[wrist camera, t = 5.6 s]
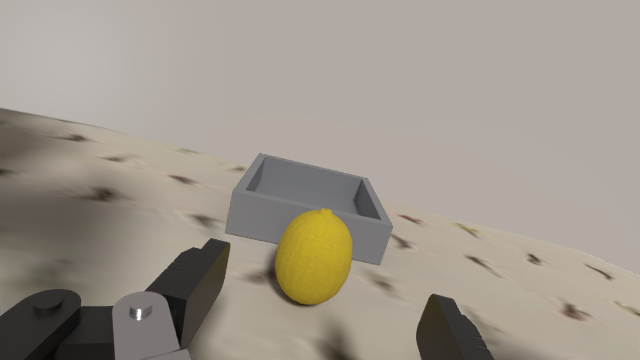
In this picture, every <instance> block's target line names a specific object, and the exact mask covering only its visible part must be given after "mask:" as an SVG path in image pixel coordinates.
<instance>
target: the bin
mask: <svg viewBox="0 0 640 360" xmlns="http://www.w3.org/2000/svg"><path fill="white" fill-rule="evenodd" d="M322 208H328V209H330V210H331V211H332V213H333V214H334V215H336V216H337V217H338V218H340V219H341V220H342V221H343V223H344V224H345V225H346V227H347V228H348V230H349V232H350V235H351V238H352V259H353V260H357V261H362V262H367V263H372V264H377V265H380V263H381V261H382V258H383V255H384V252H385V249H386V246H387V243H388V240H389V237H390V235H391V232H392V229H393V225H392V223H391V221H390V220H389V218H388V216H387V214H386V212H385V210H384V208H383V206H382V205H381V203H380V201H379V199H378V197H377V195H376V193H375V191H374V189H373V188H372V186H371V184H370V182H369V180H368V179H367V178H363V177H360V176H355V175H351V174H347V173H342V172H338V171H334V170H330V169H325V168H321V167H317V166H313V165H308V164H304V163H300V162H295V161H291V160H287V159H282V158H278V157H274V156H270V155H265V154H261V153H259V155H258V156H257V158H256V159H255V160H254V162H253V163H252V165H251V166H250V167H249V169H248V170H247V172H246V173H245V174H244V176H243V177H242V179H241V180H240V181H239V183H238V184H237V186H236V187H235V188H234V190H233V192H232V197H231V203H230V209H229V214H228V220H227V226H226V232H225V233H228V234H233V235H238V236H242V237H247V238H252V239H257V240H262V241H266V242H271V243H276V244H279V242H280V239H281V237H282V235H283V233H284V231H285V229H286V228H287V226H288V225H289V224H290V223H291V222H292V221H293V220H294V219H295V218H296V217H297V216H299V215H301V214H303V213H305V212H308V211H312V210H321V209H322Z"/></svg>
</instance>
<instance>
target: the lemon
mask: <svg viewBox="0 0 640 360" xmlns="http://www.w3.org/2000/svg"><path fill="white" fill-rule="evenodd" d="M351 261H352V238H351V235H350V232H349V230H348V228H347V227H346V225H345V224H344V223H343V221H342V220H341V219H340V218H338V217H337V216H336V215H334V214H333V213H332V211H331V210H330V209H328V208H322V209H321V210H312V211H308V212H305V213H303V214H301V215H299V216H297V217H296V218H295V219H294V220H293V221H292V222H291V223H290V224H289V225H288V226H287V228H286V229H285V231H284V233H283V235H282V237H281V239H280V242H279V245H278V248H277V252H276V257H275V271H276V277H277V280H278V283H279V285H280V286H281V288H282V290H283V291H284V292H285V293H286V294H287V295H288V296H289V297H290V298H291V299H293V300H295V301H297V302H299V303H300V304H309V305H313V304H319V303H322V302H325V301H327V300H329V299H330V298H332V297H333V296H334V295H336V294H337V293H338V291H339V290H340V289H341V287H342V286H343V284H344V282H345V281H346V279H347V276H348V274H349V271H350V267H351Z"/></svg>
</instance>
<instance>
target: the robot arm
mask: <svg viewBox="0 0 640 360" xmlns="http://www.w3.org/2000/svg"><path fill="white" fill-rule="evenodd" d="M229 252H230V243H229V242H225V241H221V240H217V239H213V238H211V239H210V240H209V241H208V242H207V243H206V244H205V245H204V246H203V248H202V249H198V248H194V247H193V248H191V249H189V250H186V251H184V252H182V253H181V254H180V255H179V256H178V257H177V258H176V259H175V260H174V262H172V263H171V264H170V265H169V266H168V268H167V269H165V270H164V271H163V272H162V273H161V275H160V276H159V277H158V278H157V279H156V280H155V281H154V282H153V283H152V284H151V285H150V286H149V287H148V288H147V289H146V290H145V291H144V292H136V293H132V294H129V295H127V296H125V297H123V298H121V299H120V300H119V301H118V302H117V303H116V304H115V305H114V306H81V298H80V296H79V295H78V294H77V293H75V292H73V291H70V290H65V289H53V290H47V291H42V292H39V293H36V294H33V295H31V296H29V297H27V298H25V299H23V300H22V301H20V302H19V303H18V304H16V305H15V306H14V307H12V308H11V309H9V310H8V311H7V312H5V313H4V314H3V315H1V316H0V360H191V358H190V354H189V352H188V350H187V347H188V345H189V344H190V342H191V340H192V339H193V337H194V335H195V333H196V332H197V330H198V328H199V327H200V325H201V323H202V322H203V320H204V318H205V317H206V315H207V313H208V312H209V310H210V308H211V306H212V305H213V303H214V301H215V300H216V298H217V296H218V295H219V293H220V291H221V288H222V286H223V283H224V279H225V274H226V268H227V263H228V257H229ZM416 341H417V345H418V349H419V352H420V356H421V359H422V360H494V358H493V357H492V355H491V353H490V351H489V350H488V349H487V346H486V344H485V342H484V341H483V340H482V337H481V335H480V333H479V332H478V330H477V328H476V326H475V325H474V324H473V323H472V322H471V321H470V320H469V319H468V318H467V317H466V316H465V315H462V314H461V313H460V311H459V309H458V307H457V305H456V303H455V301H454V300H453V299H452V298H448V297H444V296H440V295H436V294H432V295H431V296H430V297H429V299H428V302H427V304H426V307H425V309H424V312H423V314H422V317H421V319H420V322H419V324H418V327H417V332H416Z"/></svg>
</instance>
